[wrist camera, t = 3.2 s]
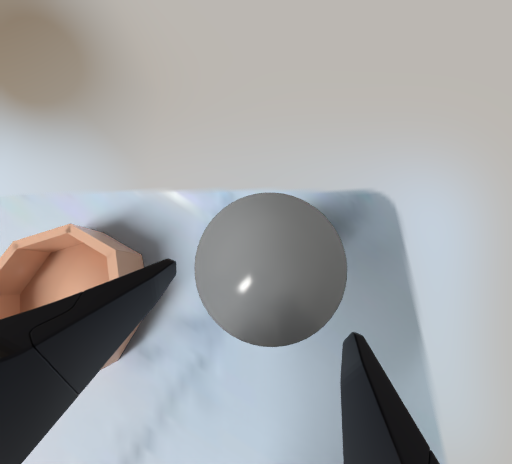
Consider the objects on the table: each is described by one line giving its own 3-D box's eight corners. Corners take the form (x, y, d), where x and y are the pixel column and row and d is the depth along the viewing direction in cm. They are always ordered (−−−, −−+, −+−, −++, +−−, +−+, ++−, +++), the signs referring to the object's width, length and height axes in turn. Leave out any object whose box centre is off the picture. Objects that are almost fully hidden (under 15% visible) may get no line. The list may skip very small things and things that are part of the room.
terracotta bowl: (156, 347, 17) (129, 364, 14) (22, 391, 17) (-39, 420, 14) (136, 222, 20) (110, 211, 17) (22, 258, 20) (-28, 254, 17)
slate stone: (300, 290, 18) (374, 316, 6) (250, 307, 18) (215, 370, 6) (282, 240, 19) (312, 175, 7) (235, 256, 19) (180, 216, 7)
